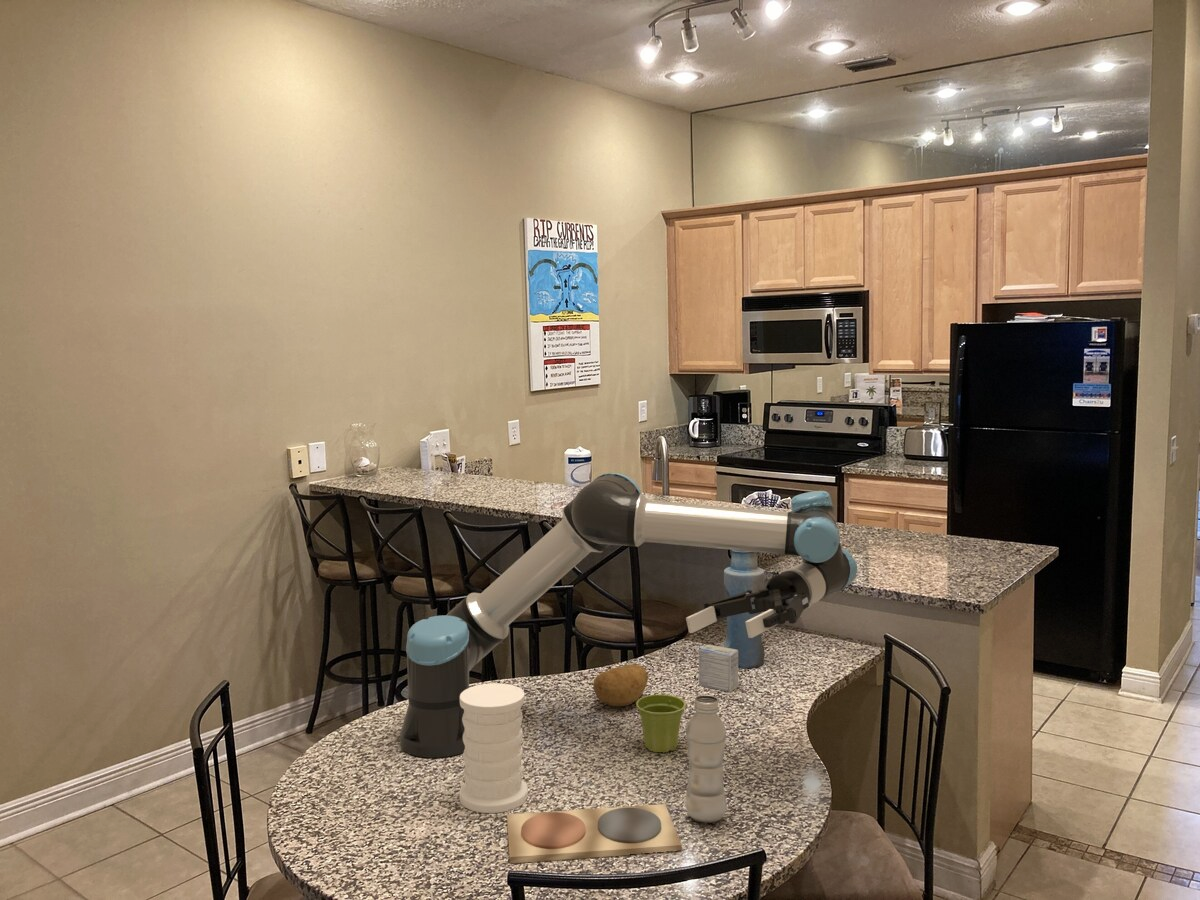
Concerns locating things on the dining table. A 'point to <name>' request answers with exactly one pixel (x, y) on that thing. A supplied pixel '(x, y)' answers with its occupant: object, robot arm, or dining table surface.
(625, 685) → the potato
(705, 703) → the plastic bottle
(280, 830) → the dining table surface
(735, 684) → the medicine box
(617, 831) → the board
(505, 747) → the decorative container
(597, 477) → the robot arm
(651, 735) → the plant pot
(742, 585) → the bottle
